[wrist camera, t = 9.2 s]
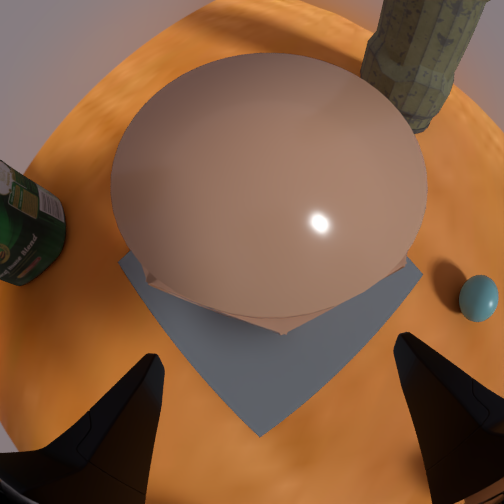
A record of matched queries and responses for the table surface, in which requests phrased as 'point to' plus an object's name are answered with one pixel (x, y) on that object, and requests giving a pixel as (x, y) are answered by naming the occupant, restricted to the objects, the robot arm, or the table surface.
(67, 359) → the table surface
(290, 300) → the brown piece
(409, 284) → the slate mat
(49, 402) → the table surface
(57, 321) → the table surface
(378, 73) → the thermos
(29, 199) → the coffee jar
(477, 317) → the ball
